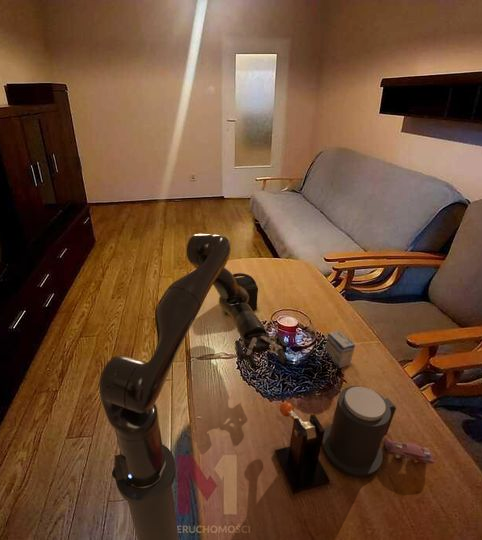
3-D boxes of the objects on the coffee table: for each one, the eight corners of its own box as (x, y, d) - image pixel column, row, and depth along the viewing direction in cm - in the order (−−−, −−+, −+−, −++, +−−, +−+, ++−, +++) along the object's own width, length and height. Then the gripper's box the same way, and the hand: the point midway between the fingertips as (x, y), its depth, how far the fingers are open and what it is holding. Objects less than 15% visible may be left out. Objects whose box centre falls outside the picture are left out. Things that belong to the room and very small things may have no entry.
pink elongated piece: (383, 457, 86) (391, 454, 80) (383, 438, 88) (390, 433, 83) (428, 469, 83) (439, 466, 78) (426, 448, 86) (437, 444, 80)
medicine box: (323, 352, 116) (327, 332, 112) (334, 349, 118) (338, 329, 113) (339, 369, 110) (343, 348, 106) (350, 365, 111) (355, 344, 107)
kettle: (341, 485, 79) (356, 435, 70) (311, 431, 91) (320, 383, 82) (398, 468, 82) (419, 419, 73) (362, 419, 94) (376, 371, 85)
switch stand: (274, 452, 86) (280, 410, 78) (308, 444, 88) (316, 402, 80) (292, 494, 78) (300, 451, 70) (329, 483, 80) (340, 440, 72)
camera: (218, 300, 144) (217, 269, 137) (250, 296, 146) (251, 265, 139) (223, 316, 135) (223, 283, 128) (258, 311, 137) (260, 279, 130)
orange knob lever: (278, 414, 88) (276, 401, 88) (290, 411, 89) (289, 398, 89) (304, 442, 74) (303, 427, 74) (319, 439, 75) (317, 423, 75)
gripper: (227, 321, 104) (245, 359, 91) (272, 314, 107) (296, 349, 94) (227, 341, 108) (244, 379, 94) (270, 333, 111) (293, 369, 97)
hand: (270, 364), depth 94 cm, fingers open, 8 cm apart
